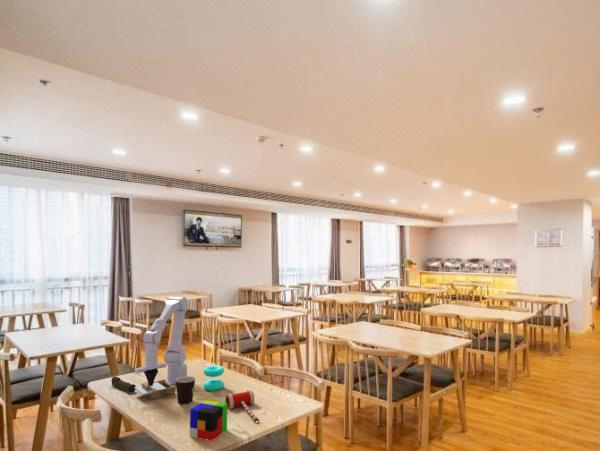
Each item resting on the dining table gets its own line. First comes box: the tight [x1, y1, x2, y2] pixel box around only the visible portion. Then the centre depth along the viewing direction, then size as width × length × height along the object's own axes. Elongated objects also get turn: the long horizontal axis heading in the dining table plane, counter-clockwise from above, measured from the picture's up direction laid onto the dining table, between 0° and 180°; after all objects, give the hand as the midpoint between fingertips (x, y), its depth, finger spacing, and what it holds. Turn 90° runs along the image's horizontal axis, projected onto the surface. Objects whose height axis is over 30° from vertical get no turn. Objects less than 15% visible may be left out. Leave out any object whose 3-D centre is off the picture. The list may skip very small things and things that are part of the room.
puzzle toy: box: [189, 399, 228, 441], centre depth 154 cm, size 10×10×10 cm
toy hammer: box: [224, 389, 260, 423], centre depth 173 cm, size 23×12×6 cm, turn 29°
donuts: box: [203, 365, 225, 392], centre depth 202 cm, size 10×10×10 cm
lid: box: [135, 381, 165, 396], centre depth 192 cm, size 11×11×3 cm
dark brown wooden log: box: [111, 375, 137, 394], centre depth 201 cm, size 19×4×5 cm, turn 51°
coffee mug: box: [175, 375, 196, 405], centre depth 183 cm, size 12×9×10 cm
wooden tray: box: [145, 379, 177, 401], centre depth 194 cm, size 11×13×4 cm
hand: (150, 385), depth 192 cm, fingers closed
